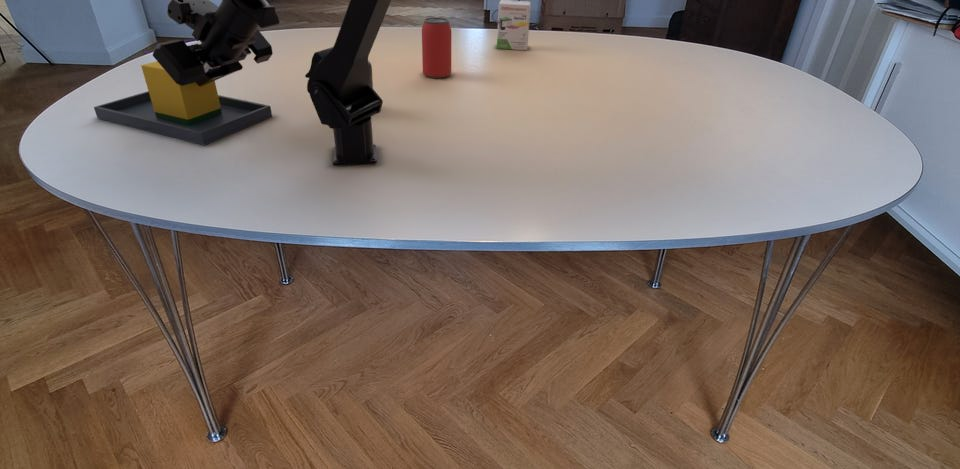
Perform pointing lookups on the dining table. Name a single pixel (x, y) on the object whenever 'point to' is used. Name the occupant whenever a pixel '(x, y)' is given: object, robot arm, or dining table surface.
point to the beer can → (436, 47)
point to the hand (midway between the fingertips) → (199, 83)
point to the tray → (143, 117)
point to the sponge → (180, 97)
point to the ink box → (513, 24)
